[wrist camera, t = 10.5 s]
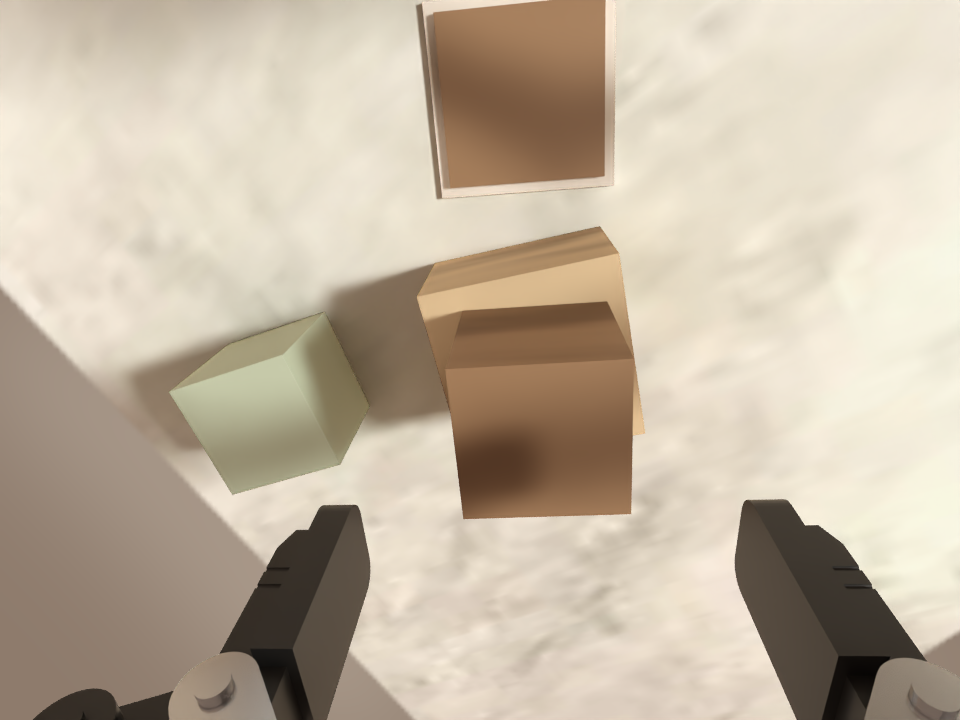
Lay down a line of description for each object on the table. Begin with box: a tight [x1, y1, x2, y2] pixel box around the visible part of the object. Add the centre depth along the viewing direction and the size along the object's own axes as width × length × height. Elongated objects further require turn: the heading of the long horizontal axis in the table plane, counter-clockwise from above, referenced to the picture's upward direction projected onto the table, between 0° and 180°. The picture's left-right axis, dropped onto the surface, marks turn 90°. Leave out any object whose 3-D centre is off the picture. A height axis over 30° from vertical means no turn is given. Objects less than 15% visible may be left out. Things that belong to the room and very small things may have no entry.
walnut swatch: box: [422, 0, 616, 198], centre depth 21 cm, size 7×7×1 cm
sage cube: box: [169, 312, 370, 495], centre depth 25 cm, size 5×5×5 cm
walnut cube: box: [445, 301, 634, 519], centre depth 18 cm, size 5×5×5 cm
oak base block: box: [417, 226, 645, 435], centre depth 23 cm, size 7×7×5 cm
